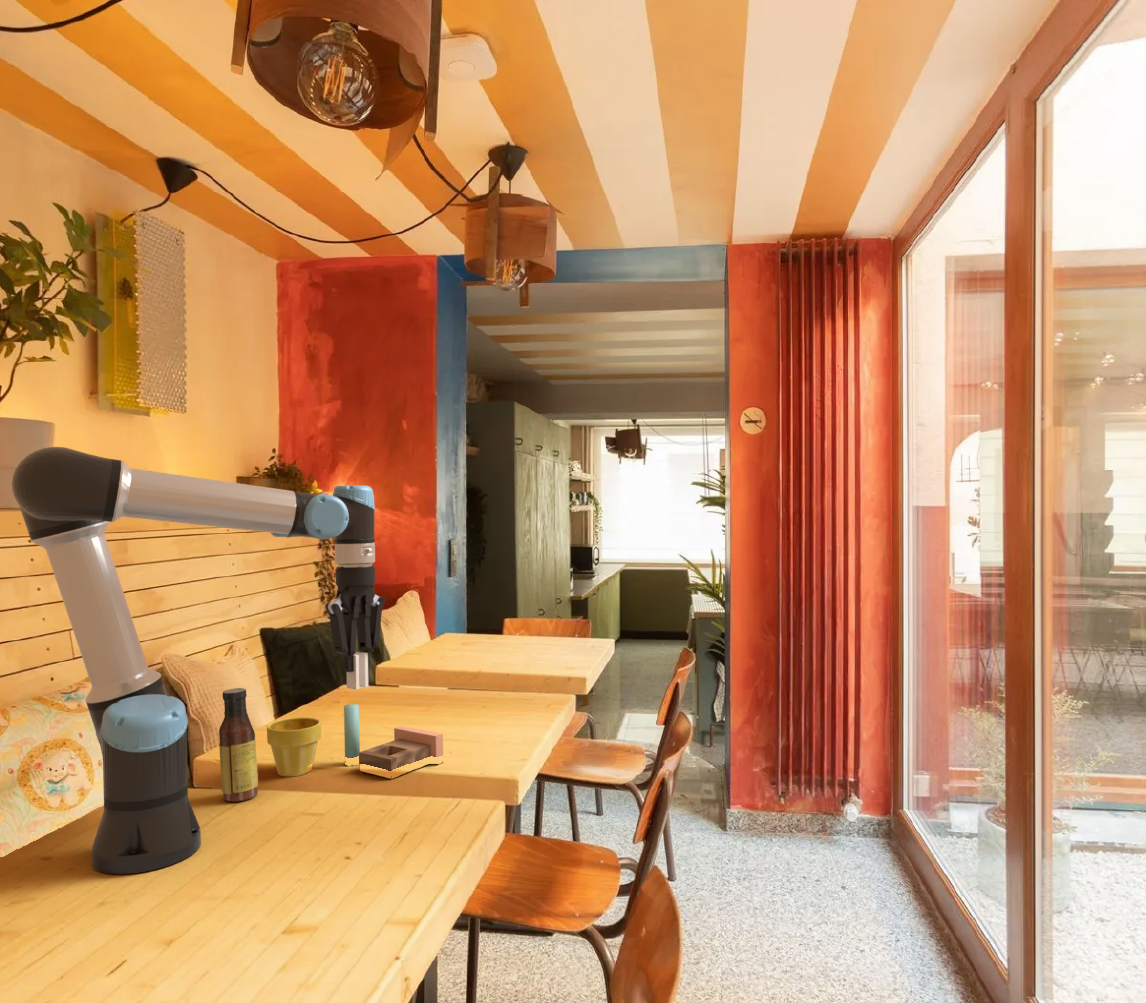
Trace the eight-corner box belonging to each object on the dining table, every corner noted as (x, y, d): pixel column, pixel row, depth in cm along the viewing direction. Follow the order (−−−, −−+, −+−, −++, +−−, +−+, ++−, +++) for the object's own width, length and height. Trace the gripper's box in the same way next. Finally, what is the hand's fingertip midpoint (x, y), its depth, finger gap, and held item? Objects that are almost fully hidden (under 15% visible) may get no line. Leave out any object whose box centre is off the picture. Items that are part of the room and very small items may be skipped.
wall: (436, 765, 170) (435, 736, 170) (394, 756, 177) (394, 728, 177) (443, 762, 172) (442, 733, 172) (401, 754, 178) (401, 726, 178)
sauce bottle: (264, 791, 156) (262, 686, 156) (248, 804, 150) (245, 693, 150) (231, 791, 157) (228, 686, 157) (213, 803, 151) (211, 693, 151)
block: (391, 779, 162) (391, 759, 162) (359, 771, 167) (359, 752, 167) (431, 764, 171) (430, 744, 171) (399, 757, 176) (399, 738, 176)
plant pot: (312, 780, 163) (311, 729, 163) (259, 780, 163) (258, 730, 163) (328, 763, 173) (327, 716, 173) (279, 763, 173) (278, 716, 173)
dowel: (351, 767, 170) (350, 708, 170) (341, 764, 172) (340, 706, 172) (363, 763, 173) (362, 705, 173) (353, 760, 174) (352, 703, 174)
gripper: (338, 568, 153) (340, 697, 153) (396, 563, 165) (399, 682, 165) (311, 567, 157) (314, 692, 157) (370, 562, 169) (372, 678, 169)
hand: (357, 687), depth 161 cm, fingers open, 1 cm apart
